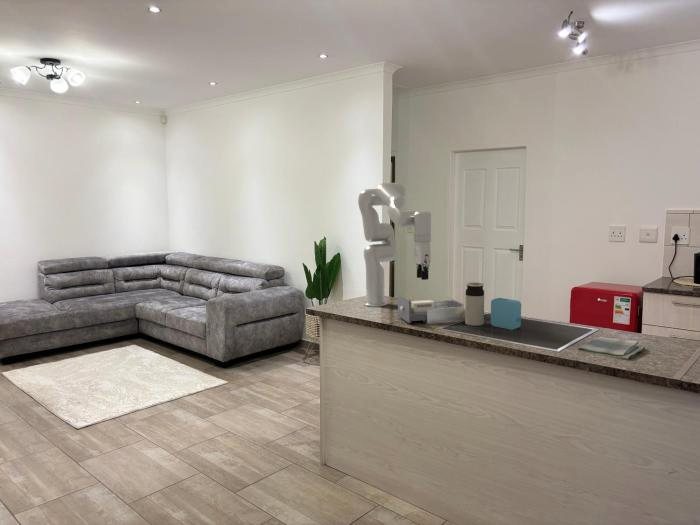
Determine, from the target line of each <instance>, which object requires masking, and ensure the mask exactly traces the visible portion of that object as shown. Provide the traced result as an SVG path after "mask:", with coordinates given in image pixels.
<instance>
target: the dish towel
mask: <svg viewBox="0 0 700 525" xmlns="http://www.w3.org/2000/svg"><path fill="white" fill-rule="evenodd" d="M577 351H579V352H585V353H590V354H595V355H599V356H603V357H609V358H612V359H613V358H614V359H619V360H624V361H629V360H631V359H633V358H634V357H636V356H638V355H640V354H641V353H642V352H643V351H646V346H639V341H638V340H626V339H619V338H610V337H603V336H602V337H601V336H598V337H597V336H596V337H595V338H592V339H591V340H589V341H588V340H587V341H586V342H585V343H583V344H581V345H580V346H579V347H577Z"/></svg>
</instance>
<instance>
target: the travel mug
mask: <svg viewBox="0 0 700 525" xmlns="http://www.w3.org/2000/svg"><path fill="white" fill-rule="evenodd" d="M464 305H465V307H464V308H465V309H464V310H465V312H464V315H465V316H464V319H465V320H464V322H465V324H466V325H467V326H472V327H476V326H478V327H479V326H482V325H484V324H485V289H484V283H483V282H474V281H473V282H466V289H465V304H464Z"/></svg>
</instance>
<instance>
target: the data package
mask: <svg viewBox="0 0 700 525" xmlns="http://www.w3.org/2000/svg"><path fill="white" fill-rule="evenodd" d="M521 323H522V302H521V301H520V300H515V299H510V298H509V299H508V298H503V297H496V298H493V299H492V300H491V301H490V324H491V326H492V327H496V328H501V329H506V330H512V331H514V330H517V329H519V328H521V326H522V324H521Z"/></svg>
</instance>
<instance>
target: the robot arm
mask: <svg viewBox="0 0 700 525" xmlns="http://www.w3.org/2000/svg"><path fill="white" fill-rule="evenodd" d="M405 195H406V189H405V187H404V185H403V184H402V183H400V182H383V183H380V184H379V185H377V187H376V188H370V189H369V188H368V189H364V190H361V191H360V192H359V194H358V198H357V199H358V200H357V204H358V208H359V211H360V214H361V218H362V227H363V233H364V235H363V236H364V239H365V241H367V242H369V243H374V244H369V245H367V246H366V247H365V248H364V250H363V259H364V262H365V264H364V265H365V286H366V287H365V291H366V292H365V293H366V294H365V295H366V296H365V297H366V300H365V301H363V305H364V306H366V307H371V308H372V307H373V308H375V307H377V308H378V307H385V306H387V305H388V301H387V300H385V269H384V268H383V266H382V264H381V263H387V262H392V261H394V260H395V259H396V258H397V244H396V237H395V236H396V235H395V230H394V228H393V226H392V225H391V224H390V223H387V222H381V223H380V217H379V214H378V212H377V211H376V210H377V209H375V208H374V206H375V207H376V206H387V214H388V217H389V219H390V220H391V222H393V223H394V224H395V225H396V226H397V227H399V228H408V227H409V228H412V227H413V243H414V244H413V245H414V246H413V261H412V262H414V263H415V264H416V278H417V279H421V280H423V281H425V280H429V271H430V270H429V269H430V268H429V267H430V266H431V259H432V258H431V256H432V255H431V242H432V214H431V211H429V210H413V209H412V210H410V209H409V210H401V209H402V208H403V207H404V206H405V202H406V201H405ZM375 242H377V243H376V244H375ZM378 242H382V243H378Z"/></svg>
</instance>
